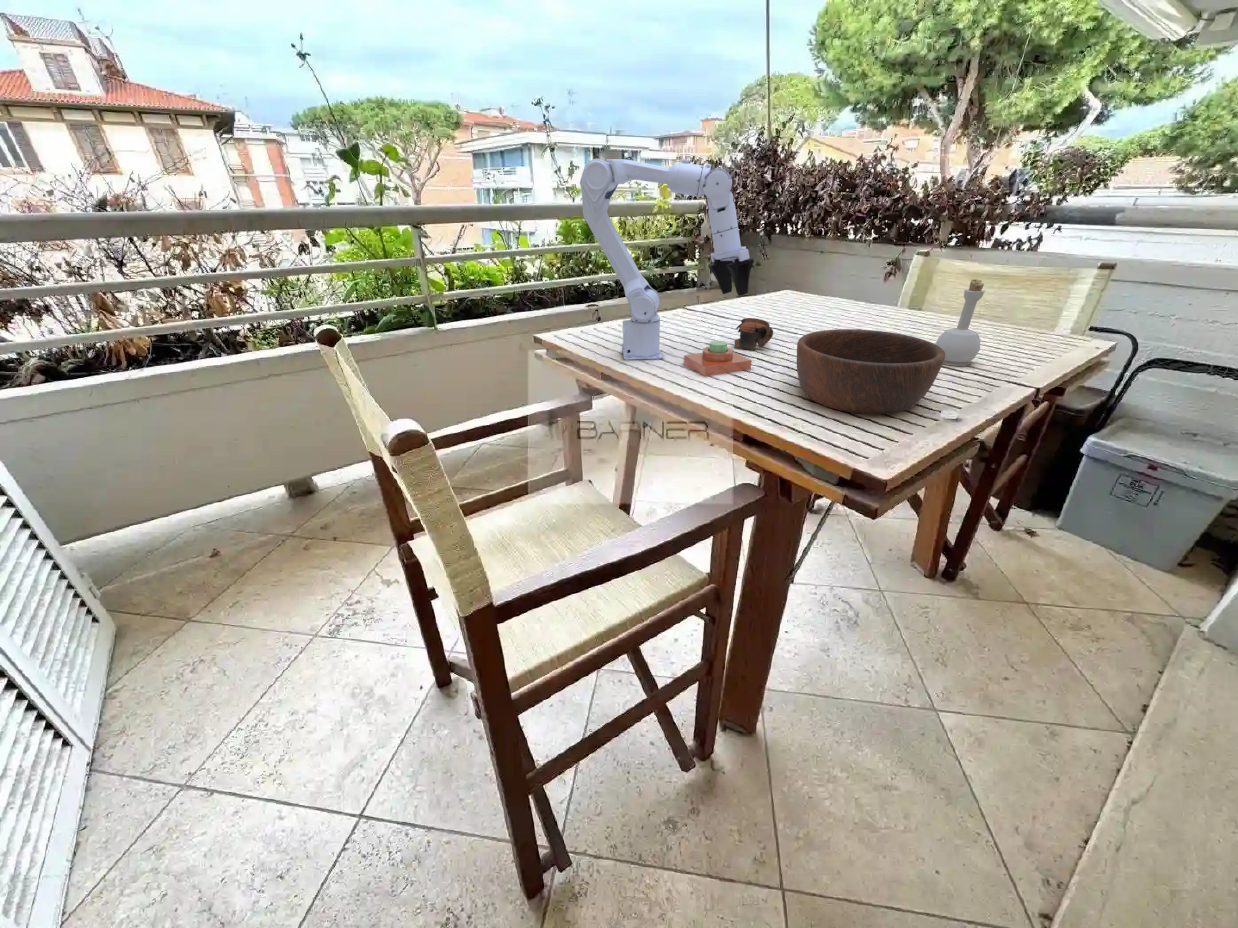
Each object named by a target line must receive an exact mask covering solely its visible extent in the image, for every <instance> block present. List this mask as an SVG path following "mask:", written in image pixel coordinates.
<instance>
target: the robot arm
mask: <svg viewBox="0 0 1238 928" xmlns="http://www.w3.org/2000/svg"><path fill="white" fill-rule="evenodd" d="M632 180H634V181H635V180H636V181H642V182H648V183H656V184H657V183H658V184H664V185H667V187H668V189H669V190H670V192H671V193H673V194H679V195H686V196H693V197H697V198H701V197H702V196H703V195H705V196H706V198H707V200H706V201H707V206H708V211H707V214H708V219H709V226H710V231H711V239H712V243H713V248H714V252H712V253H710V259H711V260H710V261H711V263H713V264H710V265H708V269H709V270H710V271H711V273H712V274H713V276H714V278H715V280H716V281H717V284H718V286H719V289H720V291H721V293H722V295H726V294H729V293H731V292H732V291H733V284H734V288H735V291H736V294H737V296H743V295H746V294H748V293H749V292H748V291H749V283H750V275H751V270H752V267H753V265H754V260H755V259H754V258H750V253H749V249H748V248H747V246H742V243H741V238H740V230H739V223H738V217H737V211H736V210H737V209H736V204H735V203H734V194H733V193H732V191H731V190H732V187H733V179H732V177H731V174H730V173H729V172H728V170H726V169H725V168H722V167H715V168H713V169H712V164H711V163H706V165H702V164H696V163H690V160H689V159H685V158H682V159H681V161H675V162H674V163H673V164H672V165H671V166H669V167H667V166H663V165H658V164H657V165H656V164H652V163H648V162H647V163H646V162H642V161H636V160H631V159H626V158H624V159H623V158H622V159H621V158H607V159H606V160H603V159H601V158H593V159H591V160H589V161H587V163H586V164H585V165H584V168H583V170H582V174H581V177H580V181H579V186H580V189H581V202H582V203H581V205H582V216H583V219H584V220H585V222H586V224H587V225H588V227H589V229H590V231H591V233H592V234H593V236H594V238H595V240H596V241H597V243H598V245H599V247H600V248H601V250H602V252H603V253H604V256H605V257H606V259H607V260H608V262H609V264H610V266H611V268H612V269H613V271H614V273H615V274H616V276H617V278H618V280H619V281H620V284H621V285H622V287H623V291H624V295H625V298H626V300H627V303H628V306H629V307H628V309H629V313H630V315H631V316H630V319H625V320H622V343H621V351H622V353H623V360H625V361H626V360H627V361H628V360H629V361H630V360H662V359H663V355H662V351H661V349H660V343H661V342H660V339H661V338H660V337H661V336H660V333H661V317H660V315H659V314H658V312H657V311H658V310H659V308H660V307H661V304H662V303H661V296H660V293H659V292H658V291H657V290H656V289H654V288H653V287H651V286H650V284H649V282H648V280H647V279H645V277H644V276H643V275H642V274H641V271H640V270H639V268H638V267H637V264H636V263H635V261H634V259H633V257H632V255H631V254H630V252H629V250H628V248H627V246H626V245H625V243H624V241H623V239H622V238H621V236H620V234H619V232H618V230H617V228H616V226H615V224H614V223H613V221H612V219H611V217H610V216H609V214H608V210H609V206H610V202H611V199H612V196H613V195H614V193H615V192H616V190H617V189H618V186H619V185H624V184H626V183H628V182H631V181H632ZM732 280H733V282H732Z"/></svg>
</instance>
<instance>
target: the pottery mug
mask: <svg viewBox="0 0 1238 928" xmlns="http://www.w3.org/2000/svg"><path fill="white" fill-rule="evenodd" d="M740 322H741V323H740V324H739V325H737V327H736V328H735V329H736V330H738V331H737V333H739V338H737V339H734V348H735V349H736V348H737V349H739V348H740V349H745V350H749V351H755V349H756V346H757V345H758V347H759V348H763V347H765V345H767V344H768V343H769V342H770V341H771V339H772V338H773V336H774V330H773V328H772V327H771V325H770V323H769V322H768V321H766V320H764V319H760V318H756V317H746V318H742V319H741V320H740Z"/></svg>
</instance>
